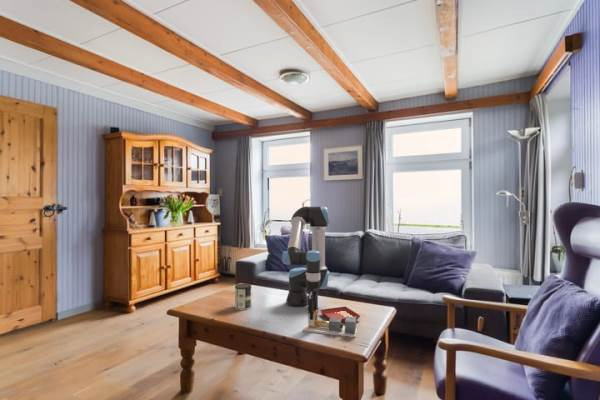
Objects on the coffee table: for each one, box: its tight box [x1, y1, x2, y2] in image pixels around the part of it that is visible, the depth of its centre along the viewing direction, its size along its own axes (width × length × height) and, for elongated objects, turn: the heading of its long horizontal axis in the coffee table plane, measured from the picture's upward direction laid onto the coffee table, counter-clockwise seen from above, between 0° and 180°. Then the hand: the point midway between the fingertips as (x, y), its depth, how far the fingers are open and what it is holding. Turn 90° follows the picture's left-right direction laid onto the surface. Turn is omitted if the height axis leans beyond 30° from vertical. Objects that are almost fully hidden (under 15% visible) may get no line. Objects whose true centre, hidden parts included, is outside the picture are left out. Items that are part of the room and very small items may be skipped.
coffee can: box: [234, 283, 252, 311], centre depth 201 cm, size 10×10×14 cm
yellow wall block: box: [307, 310, 344, 330], centre depth 166 cm, size 18×4×8 cm, turn 74°
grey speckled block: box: [328, 317, 343, 332], centre depth 165 cm, size 6×6×5 cm
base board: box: [302, 322, 358, 338], centre depth 166 cm, size 10×28×1 cm, turn 74°
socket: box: [344, 316, 357, 334], centre depth 163 cm, size 7×5×6 cm
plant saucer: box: [319, 306, 361, 323], centre depth 184 cm, size 18×18×3 cm
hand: (312, 323), depth 168 cm, fingers closed on yellow wall block, 4 cm apart
